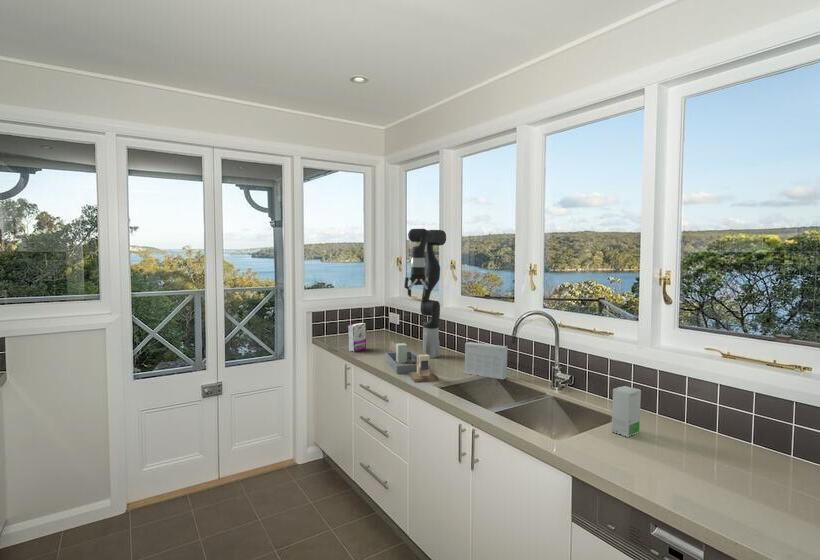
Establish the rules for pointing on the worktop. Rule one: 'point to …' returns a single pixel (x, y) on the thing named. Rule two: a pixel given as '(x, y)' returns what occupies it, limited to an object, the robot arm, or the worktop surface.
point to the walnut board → (423, 377)
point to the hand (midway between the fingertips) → (417, 296)
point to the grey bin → (401, 368)
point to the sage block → (401, 353)
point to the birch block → (423, 364)
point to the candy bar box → (357, 337)
